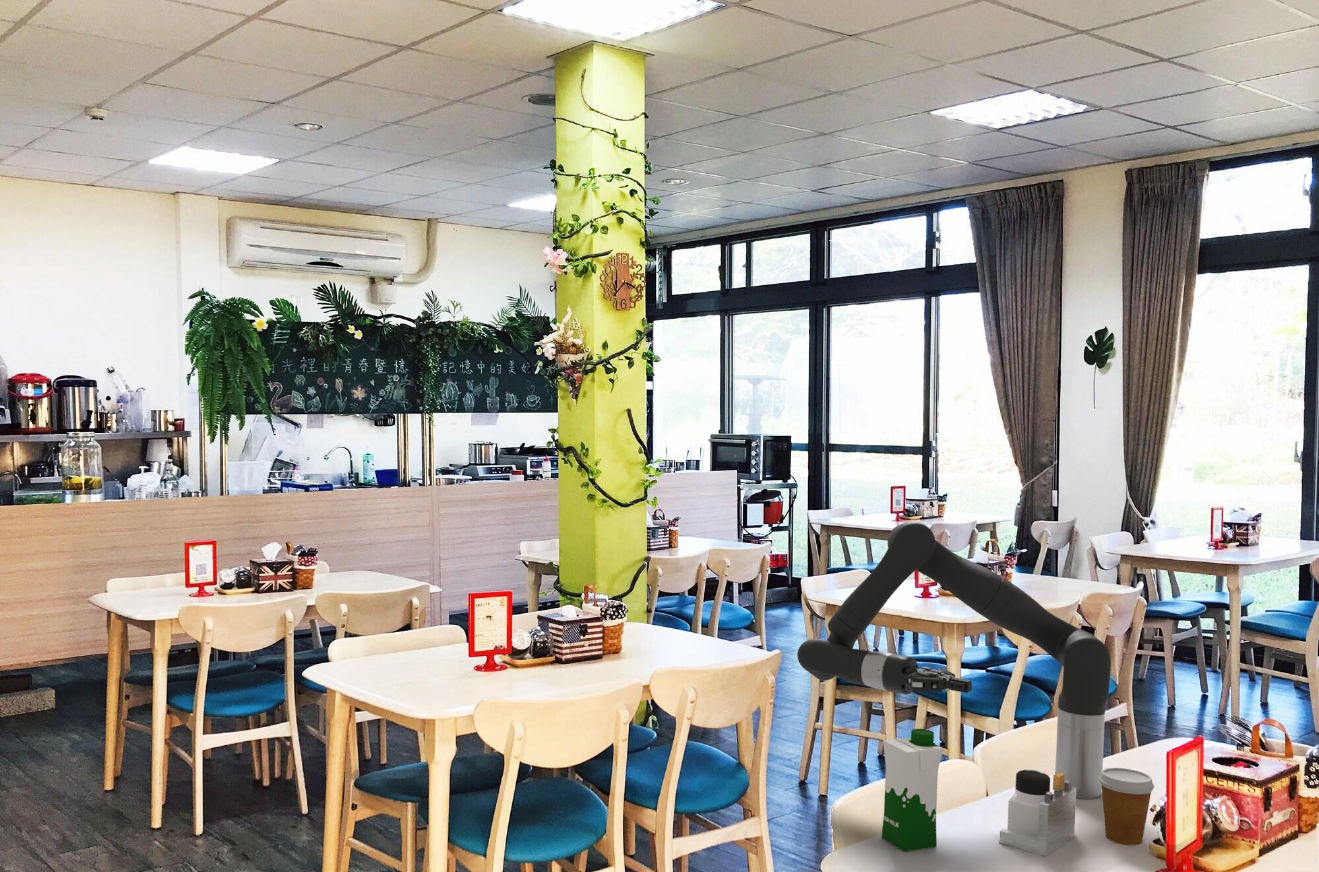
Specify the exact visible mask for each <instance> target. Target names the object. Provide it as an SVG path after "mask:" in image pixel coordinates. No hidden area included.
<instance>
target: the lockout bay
mask: <svg viewBox="0 0 1319 872" xmlns="http://www.w3.org/2000/svg"><path fill="white" fill-rule="evenodd" d="M1052 776H1053V777H1052V790H1053V792H1052V791H1050V792H1046V794H1045V800H1044V801H1042V802H1041V803H1039V820H1038V838H1035V837H1031V836H1028V835H1024V834H1020V833H1017V832H1013V831H1009V830H1007V828H1006V829H1005V828H1002V829H1001V830H999V844H1001V843H1002V845H1006V846H1009V847H1012V848H1016V849H1020V850H1024V851H1026V852H1030V853H1033V854H1036V855H1042V856H1044V857H1046V856H1049V854H1051V853H1053V851H1055V850H1057V849H1058V848H1059V847H1061V845H1062V846H1063V844H1065V843H1066V842H1067V841H1068V840H1070V839H1072V838H1073V837H1074V836H1075V829H1076V828H1075V827H1076V826H1075V825H1076V806H1077V805H1076V804H1077V798H1076V787H1072V783H1070V781H1065V774H1063V773H1059V772H1058V773H1056V774H1055V773H1054V774H1053V775H1052ZM1064 781H1065V783H1064Z"/></svg>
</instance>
